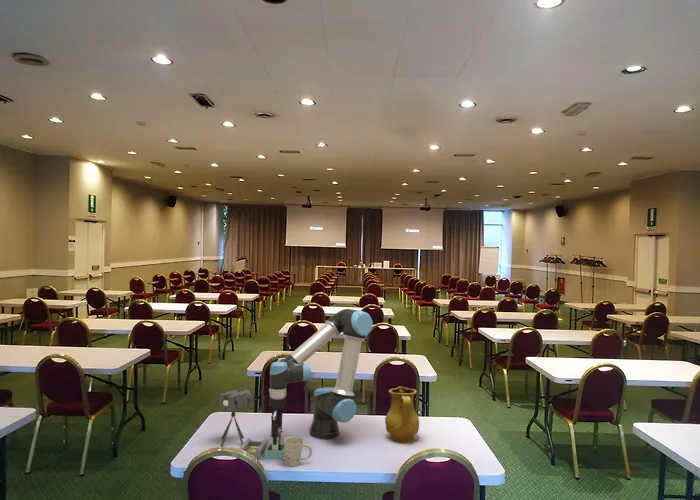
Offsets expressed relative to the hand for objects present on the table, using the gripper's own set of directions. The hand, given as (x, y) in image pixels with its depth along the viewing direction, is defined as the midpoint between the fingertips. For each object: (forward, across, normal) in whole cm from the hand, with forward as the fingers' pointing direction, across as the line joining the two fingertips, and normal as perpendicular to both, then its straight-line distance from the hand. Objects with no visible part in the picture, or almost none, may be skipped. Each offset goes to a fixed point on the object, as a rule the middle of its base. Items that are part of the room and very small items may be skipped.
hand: (276, 449), depth 217 cm
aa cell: (+2, 0, 0) cm, 2 cm away
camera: (+3, -14, -24) cm, 28 cm away
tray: (+3, 0, 0) cm, 3 cm away
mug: (+3, +7, +11) cm, 13 cm away
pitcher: (+3, -29, +57) cm, 64 cm away
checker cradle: (+3, -2, -11) cm, 11 cm away
